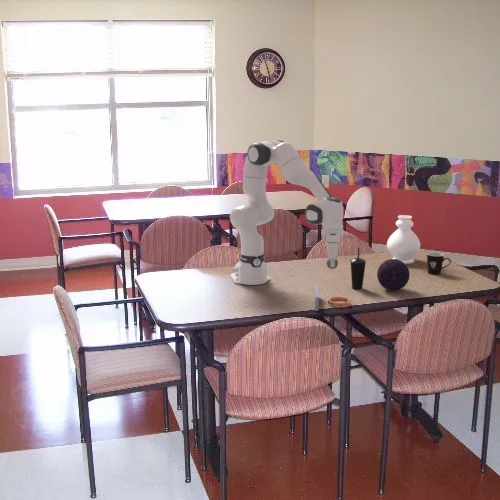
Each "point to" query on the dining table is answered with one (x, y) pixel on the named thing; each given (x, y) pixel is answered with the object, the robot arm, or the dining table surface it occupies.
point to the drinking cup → (357, 272)
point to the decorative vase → (403, 241)
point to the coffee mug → (435, 262)
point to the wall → (316, 296)
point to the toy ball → (393, 274)
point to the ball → (329, 264)
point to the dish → (339, 302)
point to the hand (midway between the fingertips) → (332, 265)
